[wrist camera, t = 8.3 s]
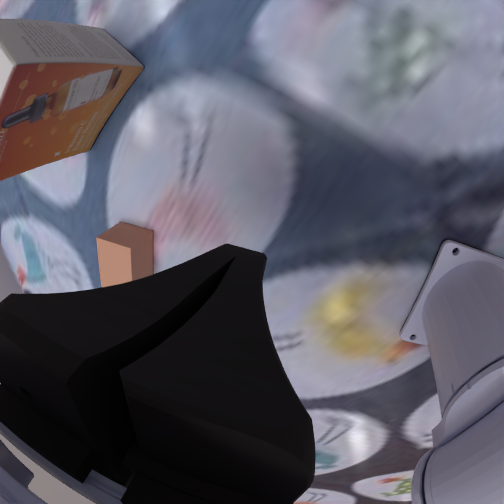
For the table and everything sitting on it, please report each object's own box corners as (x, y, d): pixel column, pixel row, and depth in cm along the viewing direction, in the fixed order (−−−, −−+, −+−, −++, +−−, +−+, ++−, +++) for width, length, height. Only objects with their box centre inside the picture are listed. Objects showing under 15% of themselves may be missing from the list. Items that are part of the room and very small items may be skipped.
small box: (90, 151, 21) (-25, 196, 12) (54, 109, 20) (-55, 137, 11) (148, 66, 17) (14, 64, 8) (103, 26, 16) (-20, 17, 7)
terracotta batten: (153, 230, 23) (130, 248, 20) (159, 393, 32) (147, 413, 30) (120, 221, 23) (96, 237, 20) (136, 383, 33) (124, 402, 30)
